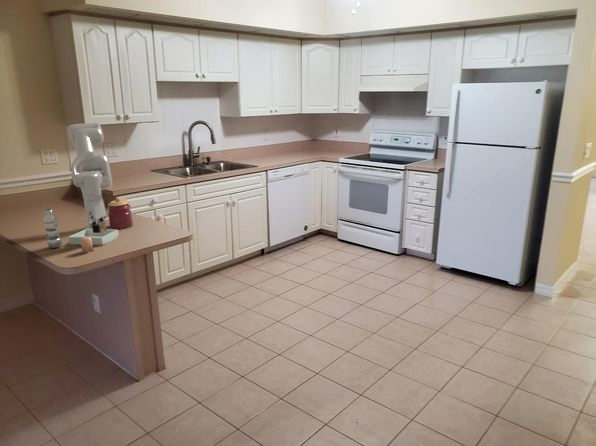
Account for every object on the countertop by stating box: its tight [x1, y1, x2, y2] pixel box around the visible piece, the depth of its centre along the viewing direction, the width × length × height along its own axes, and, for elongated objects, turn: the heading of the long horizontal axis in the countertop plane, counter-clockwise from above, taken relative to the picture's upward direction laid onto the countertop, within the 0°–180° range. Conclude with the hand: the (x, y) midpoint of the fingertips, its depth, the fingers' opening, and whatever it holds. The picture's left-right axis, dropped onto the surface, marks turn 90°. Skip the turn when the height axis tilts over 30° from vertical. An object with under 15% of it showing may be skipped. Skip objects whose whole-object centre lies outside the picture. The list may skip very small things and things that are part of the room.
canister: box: [106, 196, 134, 230], centre depth 269 cm, size 13×13×18 cm
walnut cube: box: [92, 221, 108, 233], centre depth 244 cm, size 5×5×5 cm
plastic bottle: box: [42, 208, 63, 249], centre depth 236 cm, size 6×7×20 cm
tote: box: [67, 228, 120, 246], centre depth 247 cm, size 15×20×4 cm
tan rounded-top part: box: [80, 237, 94, 254], centre depth 229 cm, size 5×5×7 cm
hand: (99, 230), depth 245 cm, fingers closed on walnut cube, 5 cm apart
